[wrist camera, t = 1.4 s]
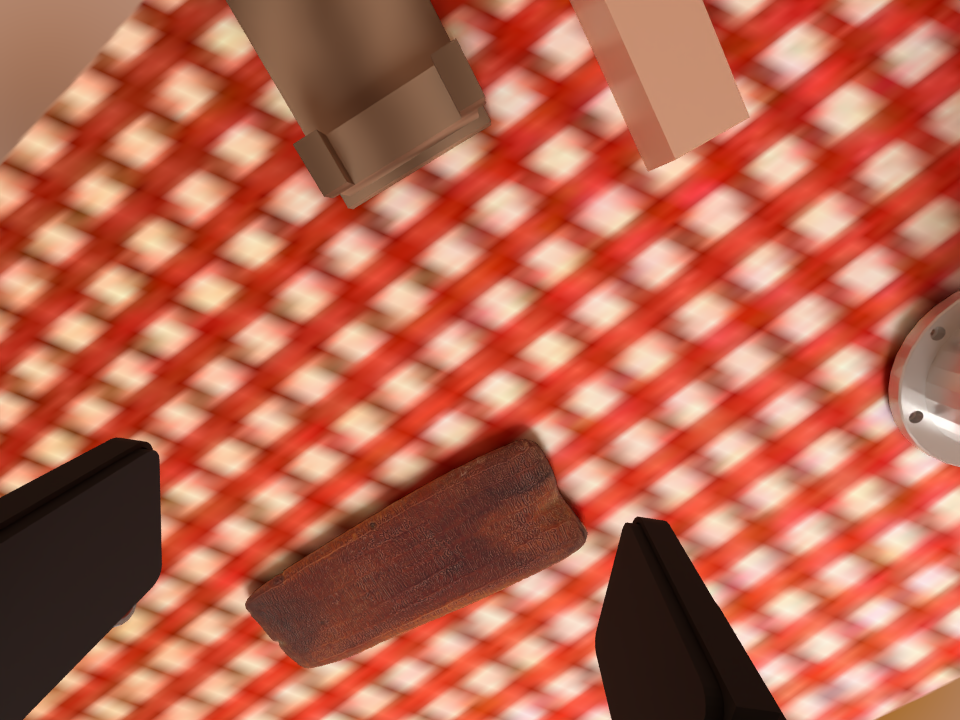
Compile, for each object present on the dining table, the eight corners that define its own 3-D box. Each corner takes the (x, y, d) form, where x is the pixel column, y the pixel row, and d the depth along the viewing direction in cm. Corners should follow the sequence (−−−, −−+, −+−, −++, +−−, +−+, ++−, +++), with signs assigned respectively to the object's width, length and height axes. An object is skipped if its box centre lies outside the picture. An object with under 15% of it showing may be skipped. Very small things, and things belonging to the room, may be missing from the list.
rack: (348, -158, 26) (317, -237, 22) (490, 124, 29) (489, 105, 25) (202, -48, 28) (146, -101, 23) (352, 209, 31) (329, 204, 26)
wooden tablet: (527, 424, 34) (528, 433, 32) (594, 533, 36) (598, 547, 34) (233, 584, 38) (221, 599, 37) (307, 674, 40) (299, 692, 38)
